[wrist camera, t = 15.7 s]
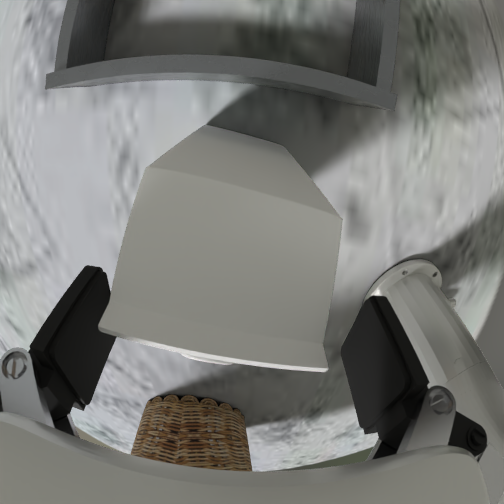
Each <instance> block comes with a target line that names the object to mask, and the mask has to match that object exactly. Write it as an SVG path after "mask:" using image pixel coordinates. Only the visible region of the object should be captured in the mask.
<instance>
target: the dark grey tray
mask: <svg viewBox="0 0 504 504" xmlns="http://www.w3.org/2000/svg"><path fill="white" fill-rule="evenodd" d="M114 1H115V0H68V1H67V4H66V8H65V12H64V16H63V21H62V26H61V30H60V36H59V41H58V48H57V54H56V62H55V71H54V72H52V73H49V74H46V86H45V89H55V88H68V87H90V86H97V85H105V84H113V83H123V82H134V81H151V80H206V81H223V82H235V83H245V84H254V85H262V86H269V87H276V88H282V89H288V90H293V91H298V92H304V93H308V94H313V95H318V96H322V97H326V98H330V99H334V100H338V101H342V102H346V103H349V104H353V105H358V106H366V107H373V108H379V109H385V110H391V111H395V105H396V100H397V95H396V94H393V93H391V86H392V80H393V73H394V65H395V58H396V49H397V39H398V27H399V12H400V0H357V2H356V12H355V22H354V31H353V39H352V47H351V54H350V61H349V68H348V74H347V77H343V76H340V75H336V74H333V73H329V72H325V71H321V70H317V69H312V68H308V67H303V66H298V65H293V64H288V63H282V62H276V61H269V60H262V59H255V58H246V57H235V56H221V55H193V54H182V55H155V56H141V57H131V58H122V59H115V60H108V61H104V53H105V46H106V40H107V34H108V29H109V23H110V18H111V14H112V9H113V5H114Z"/></svg>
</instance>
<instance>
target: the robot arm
mask: <svg viewBox="0 0 504 504" xmlns="http://www.w3.org/2000/svg"><path fill="white" fill-rule="evenodd" d="M441 288H442V276H441V273H440V271H439V270H438V269H437V267H436V266H435V265H434V264H433V263H431V262H430V261H427V260H423V259H415V260H410V261H406V262H403V263H401V264H399V265H397V266H395V267H393V268H392V269H390V270H389V271H387V272H386V273H385V274H384V275H382V276H381V277H380V278H379V279H378V280H377V281H376V282H375V283H374V284H373V286H372V287H371V289H370V290H369V291H368V293H367V295H366V297H365V299H364V302H363V305H362V308H361V310H360V312H359V314H358V316H357V318H356V320H355V322H354V324H353V326H352V328H351V330H350V332H349V334H348V336H347V338H346V340H345V342H344V344H343V345H342V348H341V356H342V360H343V363H344V367H345V370H346V374H347V378H348V382H349V385H350V389H351V393H352V397H353V401H354V405H355V409H356V413H357V417H358V421H359V425H360V427H361V428H363V429H364V433H365V434H370V433H376V432H378V436H379V438H378V440H377V442H376V444H375V446H374V448H373V450H372V452H371V454H370V455H369V457H368V459H367V461H364V462H358V463H353V464H347V465H341V466H334V467H327V468H319V469H310V470H296V471H271V472H252V471H228V470H215V469H205V468H197V467H189V466H183V465H176V464H171V463H165V462H160V461H155V460H151V459H146V458H142V457H138V456H134V455H130V454H126V453H123V452H119V451H116V450H113V449H109V448H106V447H103V446H100V445H97V444H94V443H91V442H88V441H86V440H83V439H80V437H79V435H78V432H77V430H76V427H75V425H74V422H73V420H72V417H71V414H70V412H71V409H72V407H75V408H77V409H80V410H83V411H84V409H85V406H86V405H89V404H90V402H91V400H92V397H93V394H94V391H95V389H96V386H97V384H98V381H99V378H100V376H101V373H102V371H103V368H104V366H105V363H106V361H107V358H108V356H109V353H110V351H111V349H112V346H113V344H114V342H115V339H116V336H113V335H110V334H107V333H103V332H101V331H100V330H99V329H98V324H99V322H100V320H101V318H102V316H103V314H104V312H105V310H106V308H107V306H108V304H109V301H110V295H111V292H110V288H109V284H108V279H107V275H106V273H105V272H103V270H102V268H100V267H95V266H89V265H87V266H85V267H84V268H83V270H82V271H81V272H80V274H79V275H78V276H77V277H76V279H75V280H74V281H73V283H72V284H71V285H70V287H69V288H68V289H67V291H66V292H65V294H64V295H63V296H62V298H61V299H60V301H59V302H58V303H57V305H56V306H55V308H54V309H53V311H52V312H51V314H50V315H49V317H48V318H47V320H46V321H45V323H44V324H43V326H42V327H41V329H40V330H39V332H38V334H37V335H36V337H35V338H34V340H33V342H32V343H31V345H30V350H29V352H27V350H25V349H23V348H12V349H10V350H8V351H7V352H6V353H5V354H4V355H3V356H2V358H1V359H0V504H504V390H503V388H502V386H501V385H500V383H499V381H498V379H497V378H496V376H495V374H494V372H493V370H492V369H491V367H490V365H489V364H488V362H487V360H486V358H485V357H484V355H483V353H482V351H481V350H480V348H479V347H478V345H477V343H476V342H475V340H474V338H473V337H472V335H471V334H470V332H469V331H468V329H467V328H466V326H465V325H464V323H463V322H462V320H461V319H460V317H459V316H458V314H457V313H456V311H455V310H454V309H453V308H454V307H455V305H456V300H455V299H454V298H449V299H447V297H446V296H445V295H444V293H443V292H442V291H441Z"/></svg>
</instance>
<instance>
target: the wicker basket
mask: <svg viewBox="0 0 504 504" xmlns="http://www.w3.org/2000/svg"><path fill="white" fill-rule="evenodd" d="M173 397H174V398H173ZM159 399H160V400H159ZM170 400H171V401H170ZM191 401H192V402H191ZM195 401H196V402H195ZM210 404H211V405H210ZM225 408H226V409H225ZM131 455H134V456H138V457H142V458H146V459H151V460H155V461H160V462H165V463H171V464H176V465H183V466H189V467H197V468H205V469H215V470H228V471H252V466H251V459H250V452H249V446H248V439H247V433H246V426H245V421H244V416H243V415H241V412H240V411H239V410H238V409H234V410H232V408H231V406H230V405H229V404H227V403H221V404H220V405H219V407H218V405H217V403H216V402H215V401H214V400H213V399H210V398H205V399H203V400H202V401H201V402H200V403H199V401H198V399H197V398H196V397H194V396H192V395H186V396H184V397H183V398H182V399H181V401H179V398H178V397H177V396H176V395H168V396H166V397H165V398H164V400H163V399H162V398H161V397H159V396H158V397H155V398H154V399H153V400H152V401H150V400H149V401H148V402H147V404H146V407H145V409H144V412H143V415H142V418H141V421H140V424H139V428H138V431H137V434H136V438H135V441H134V444H133V448H132V451H131Z"/></svg>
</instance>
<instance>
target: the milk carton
mask: <svg viewBox="0 0 504 504" xmlns="http://www.w3.org/2000/svg"><path fill="white" fill-rule="evenodd" d="M342 220H343V219H342V218H341V217H340V216H339V214H338V213H337V212H336V210H335V209H334V208H333V206H332V205H331V204H330V202H329V201H328V200H327V198H326V197H325V196H324V195H323V193H322V192H321V191H320V189H319V188H318V187H317V186H316V184H315V183H314V182H313V181H312V179H311V178H310V177H309V176H308V174H307V173H306V172H305V171H304V170H303V168H302V167H301V166H300V165H299V164H298V162H297V161H296V160H295V159H294V158H293V156H292V155H291V154H290V153H289V152H288V151H287V149H286V148H285V147H284V146H282V145H279V144H276V143H273V142H270V141H267V140H263V139H260V138H256V137H253V136H249V135H245V134H242V133H238V132H234V131H230V130H226V129H222V128H218V127H214V126H209V125H204V126H202V127H201V128H199V129H198V130H196V131H195V132H193V133H192V134H191V135H189V136H188V137H186V138H185V139H184V140H182V141H181V142H179V143H178V144H177V145H175V146H174V147H173V148H171V149H170V150H169V151H167V152H166V153H165V154H163V155H162V156H161V157H160V158H158V159H157V160H156V161H154V162H153V163H152V164H151V165H149V166H148V167H146V169H145V171H144V174H143V177H142V180H141V183H140V186H139V189H138V192H137V195H136V198H135V201H134V204H133V207H132V210H131V214H130V217H129V220H128V224H127V227H126V231H125V235H124V238H123V242H122V246H121V250H120V254H119V258H118V262H117V267H116V271H115V276H114V280H113V285H112V290H111V295H110V301H109V304H108V306H107V308H106V310H105V312H104V314H103V316H102V318H101V320H100V322H99V324H98V329H99V330H100V331H101V332H103V333H107V334H110V335H113V336H116V337H120V338H123V339H127V340H130V341H134V342H138V343H141V344H145V345H149V346H153V347H157V348H161V349H165V350H170V351H174V352H179V353H181V355H183V356H185V357H187V358H190V359H194V360H198V361H203V362H208V363H213V364H221V365H231V364H233V363H239V364H246V365H253V366H261V367H269V368H278V369H288V370H300V371H313V372H325V371H327V370H328V369H329V365H328V362H327V358H326V354H325V350H324V347H323V341H324V337H325V332H326V327H327V322H328V316H329V311H330V305H331V300H332V294H333V288H334V282H335V275H336V268H337V261H338V254H339V246H340V238H341V230H342Z"/></svg>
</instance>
